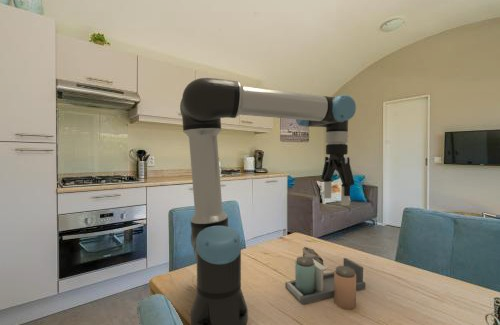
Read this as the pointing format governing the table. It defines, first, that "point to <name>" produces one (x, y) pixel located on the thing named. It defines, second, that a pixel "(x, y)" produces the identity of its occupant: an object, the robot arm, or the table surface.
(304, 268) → the jar teal
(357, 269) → the lane
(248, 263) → the table surface
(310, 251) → the mineral rock
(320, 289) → the pusher
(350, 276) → the jar terracotta
